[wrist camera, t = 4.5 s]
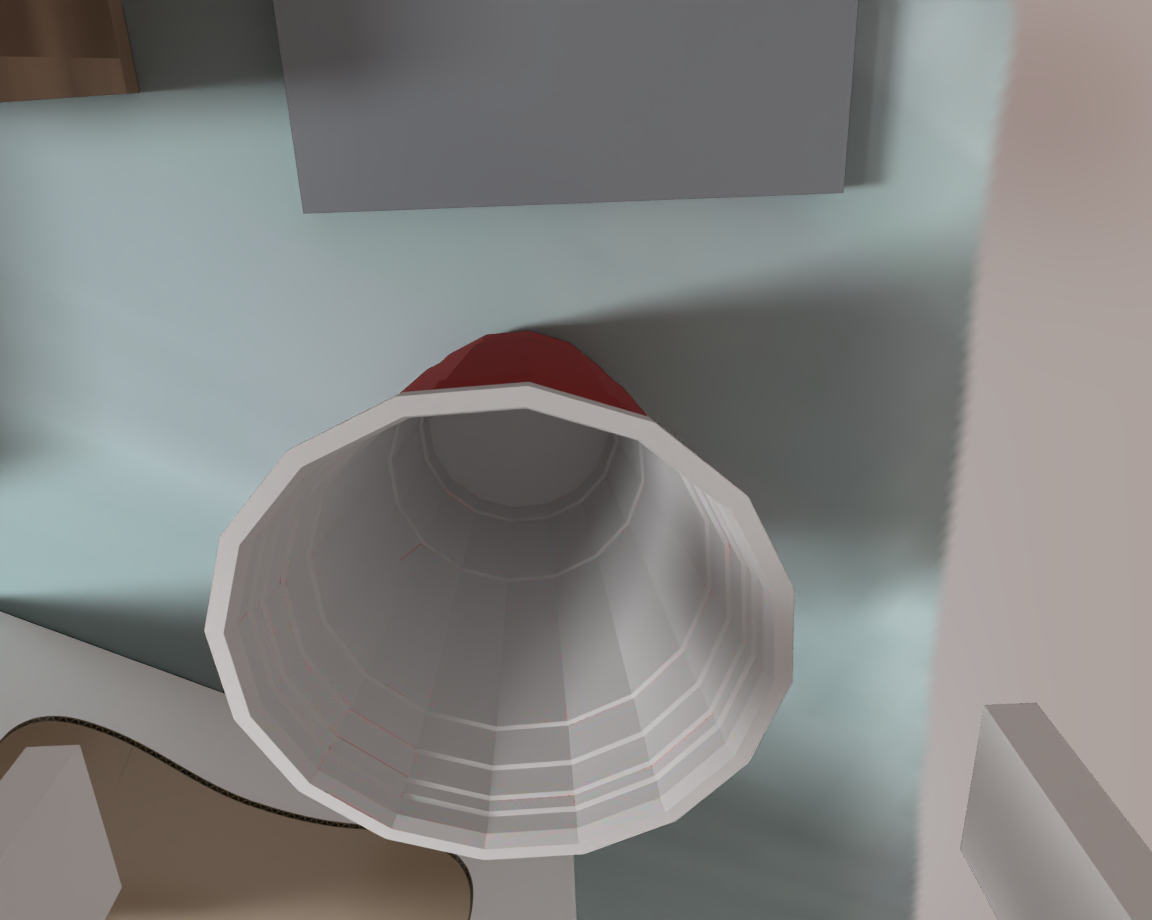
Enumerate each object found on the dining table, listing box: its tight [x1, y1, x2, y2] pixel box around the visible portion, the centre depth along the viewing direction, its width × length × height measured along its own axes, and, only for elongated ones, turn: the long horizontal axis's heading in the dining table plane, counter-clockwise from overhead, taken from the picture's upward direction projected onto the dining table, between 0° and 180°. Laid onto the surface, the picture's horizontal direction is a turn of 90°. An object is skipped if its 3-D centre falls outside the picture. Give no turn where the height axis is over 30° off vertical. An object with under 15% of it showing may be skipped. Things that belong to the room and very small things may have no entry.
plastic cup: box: [204, 331, 795, 860], centre depth 22 cm, size 11×11×12 cm
